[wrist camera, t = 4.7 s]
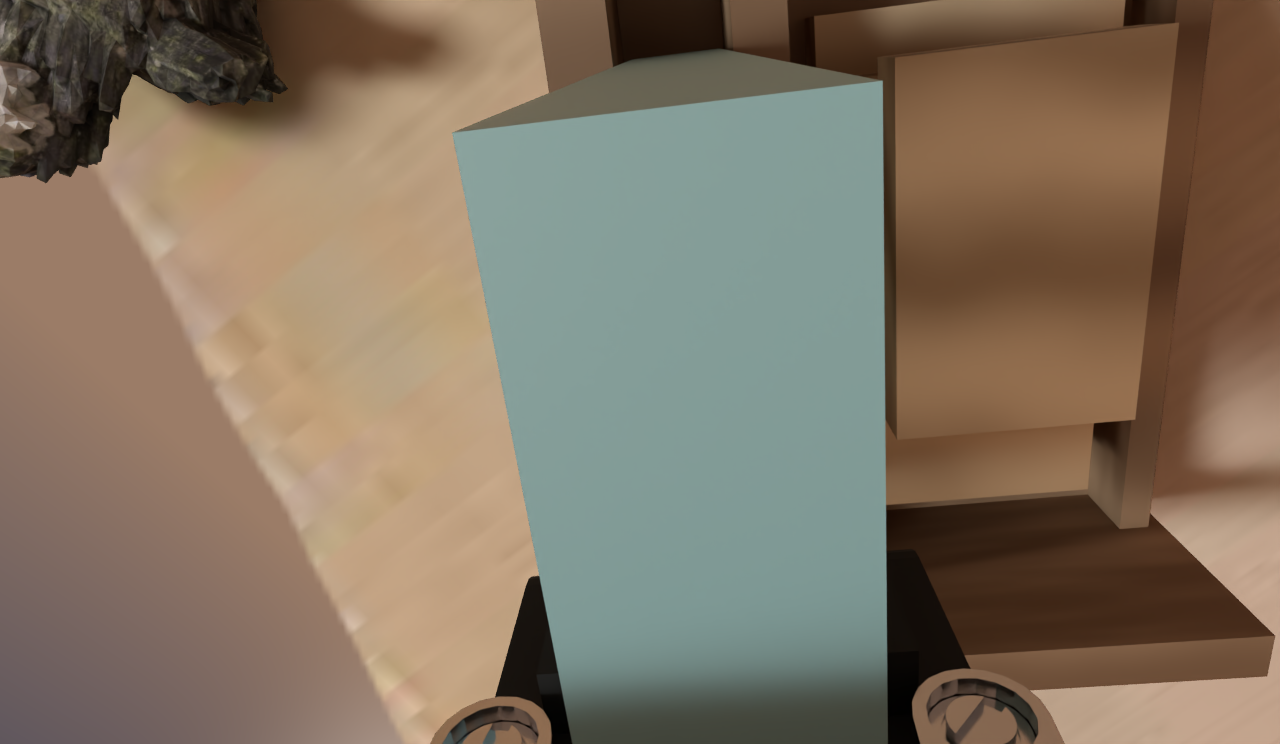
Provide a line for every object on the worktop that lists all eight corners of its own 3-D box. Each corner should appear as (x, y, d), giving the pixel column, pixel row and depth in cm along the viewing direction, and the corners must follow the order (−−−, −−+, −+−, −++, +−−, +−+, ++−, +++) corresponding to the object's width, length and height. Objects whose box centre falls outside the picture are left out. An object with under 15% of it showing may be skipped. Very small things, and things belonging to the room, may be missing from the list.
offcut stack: (804, 18, 26) (838, 10, 21) (1094, -19, 26) (1211, -38, 20) (822, 459, 32) (853, 545, 26) (1060, 440, 31) (1143, 524, 26)
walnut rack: (538, -79, 27) (464, -147, 18) (1172, -168, 25) (1460, -296, 16) (627, 541, 36) (609, 715, 26) (1105, 504, 34) (1267, 676, 25)
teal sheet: (631, 59, 23) (451, 131, 5) (719, 48, 23) (882, 80, 5) (680, 486, 28) (684, 1310, 10) (752, 480, 28) (892, 1312, 10)
